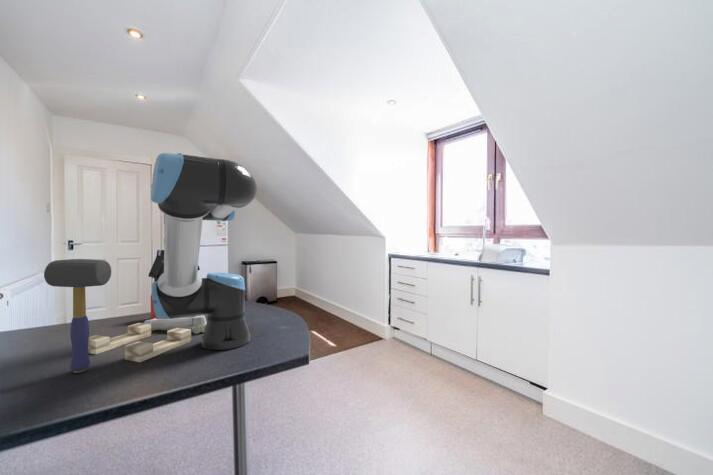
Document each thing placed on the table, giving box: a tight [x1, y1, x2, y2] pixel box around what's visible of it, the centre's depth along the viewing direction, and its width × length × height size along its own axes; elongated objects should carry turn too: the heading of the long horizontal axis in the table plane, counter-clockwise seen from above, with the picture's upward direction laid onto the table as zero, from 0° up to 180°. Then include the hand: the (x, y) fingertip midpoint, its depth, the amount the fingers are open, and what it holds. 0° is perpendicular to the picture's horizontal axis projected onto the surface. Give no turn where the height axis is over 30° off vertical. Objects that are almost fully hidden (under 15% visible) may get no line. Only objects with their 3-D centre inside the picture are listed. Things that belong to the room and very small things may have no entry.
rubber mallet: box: [43, 258, 112, 374], centre depth 83 cm, size 12×8×30 cm, turn 98°
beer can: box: [150, 293, 159, 320], centre depth 132 cm, size 7×7×12 cm
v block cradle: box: [88, 322, 192, 363], centre depth 101 cm, size 24×18×4 cm
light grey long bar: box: [142, 314, 207, 334], centre depth 117 cm, size 5×7×25 cm
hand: (176, 292), depth 117 cm, fingers open, 13 cm apart
